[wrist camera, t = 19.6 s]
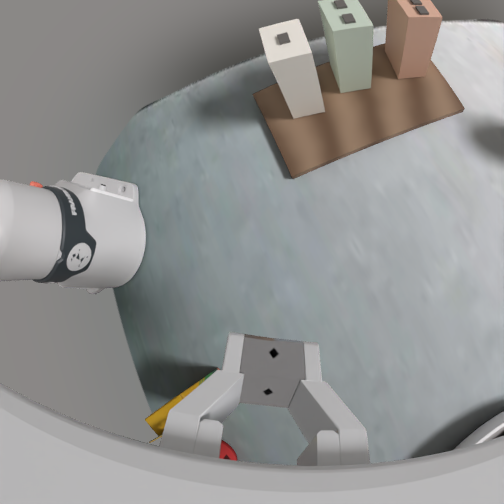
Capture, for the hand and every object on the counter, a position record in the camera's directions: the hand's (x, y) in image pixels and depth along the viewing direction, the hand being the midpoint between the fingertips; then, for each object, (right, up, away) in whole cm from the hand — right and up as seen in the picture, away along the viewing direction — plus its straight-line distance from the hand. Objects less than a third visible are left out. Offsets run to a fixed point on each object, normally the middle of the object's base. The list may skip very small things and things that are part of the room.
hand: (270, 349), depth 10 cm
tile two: (+12, +26, +22) cm, 36 cm away
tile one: (+6, +22, +24) cm, 34 cm away
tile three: (+19, +28, +20) cm, 39 cm away
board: (+13, +23, +23) cm, 35 cm away
